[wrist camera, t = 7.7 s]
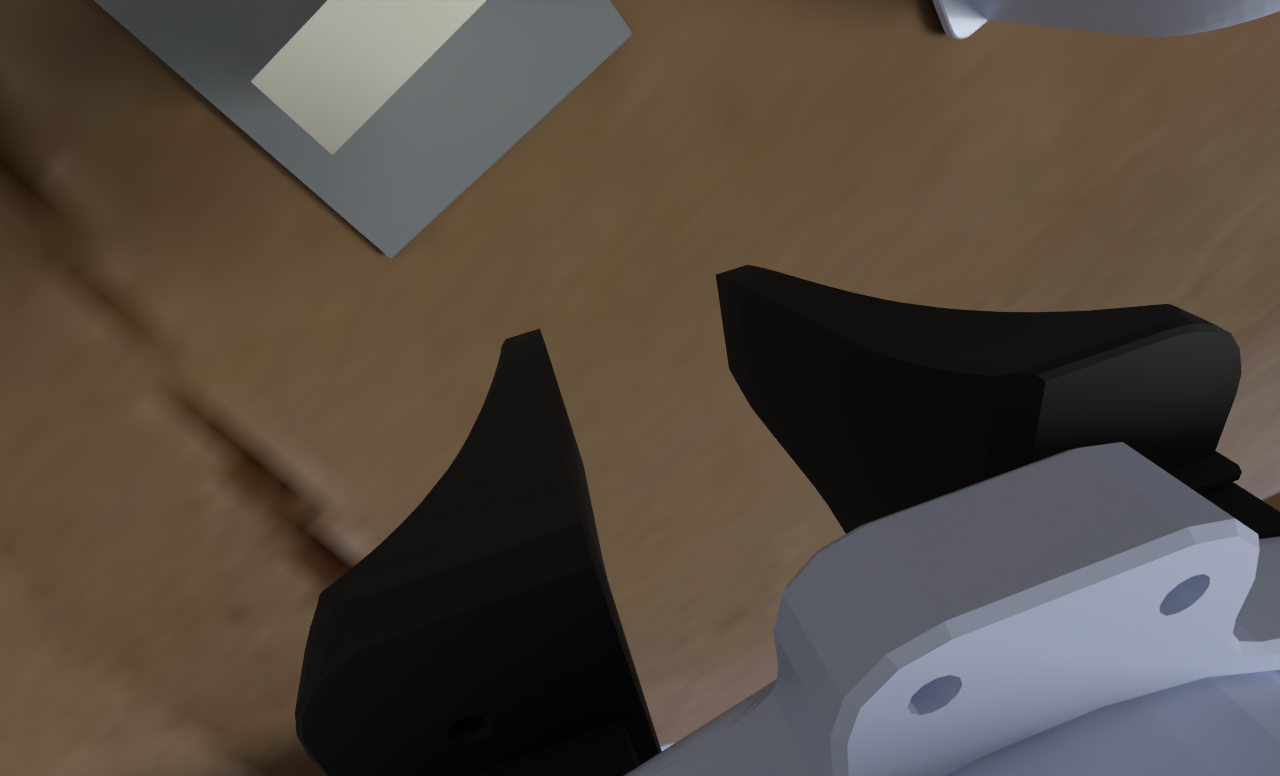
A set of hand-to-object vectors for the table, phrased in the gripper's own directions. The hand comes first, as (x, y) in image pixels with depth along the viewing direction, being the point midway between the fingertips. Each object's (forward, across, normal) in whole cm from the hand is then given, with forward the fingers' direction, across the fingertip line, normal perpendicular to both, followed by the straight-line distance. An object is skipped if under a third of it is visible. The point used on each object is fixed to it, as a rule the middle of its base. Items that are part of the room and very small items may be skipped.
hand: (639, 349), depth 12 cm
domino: (+9, +3, -6) cm, 11 cm away
